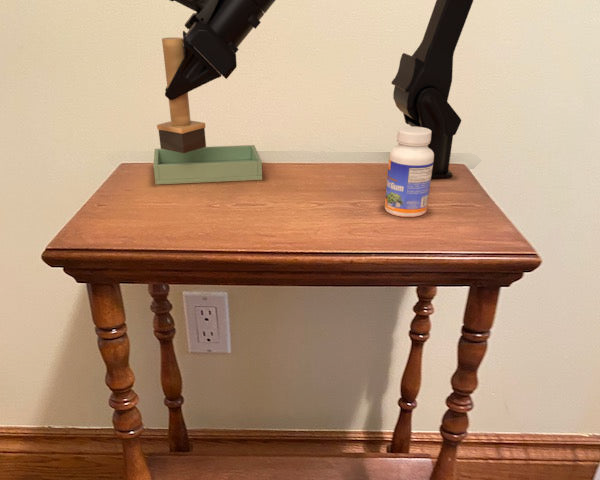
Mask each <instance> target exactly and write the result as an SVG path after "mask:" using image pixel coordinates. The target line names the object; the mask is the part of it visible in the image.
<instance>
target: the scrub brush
mask: <svg viewBox="0 0 600 480" xmlns="http://www.w3.org/2000/svg"><path fill="white" fill-rule="evenodd" d="M161 43H162V53H163V62H164V71H165V79H166V80H165V81H166V87H167V88H168V86H169V84H170V82H171V81H172V79H173V77H174V75H175V73H176V71H177V69H178V67H179V65H180V63H181V61H182V59H183V58H184V45H183V37H176V36H175V37H173V36H172V37H163V38H161ZM189 102H190V100H189V92H187V93H186V94H184V95H182V96H180V97H178V98H176V99H174V100H169V99H168V105H169V115H170V121H167V122H162V123H158V124H156V129H157V130H158V138H159V145H160V149H165V150H170V151H175V152H180V153H187V152H190V151H194V150H197V149H200V148H204V147H207V141H206V131H205V129H206V122H201V121H196V120H191V111H190V103H189Z"/></svg>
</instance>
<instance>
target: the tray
mask: <svg viewBox="0 0 600 480" xmlns="http://www.w3.org/2000/svg"><path fill="white" fill-rule="evenodd" d="M153 174H154V182H155V185H157V186H158V185H175V184H198V183H200V184H202V183H220V182H245V181H263V161H262V159H261V157H260V155H259V153H258V149H257V148H256V146H255V144H247V145H246V144H245V145H217V146H206V147H204V148H200V149H197V150H194V151H190V152H187V153H180V152H175V151H170V150H165V149H161V148H154V153H153Z"/></svg>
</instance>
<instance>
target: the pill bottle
mask: <svg viewBox="0 0 600 480" xmlns="http://www.w3.org/2000/svg"><path fill="white" fill-rule="evenodd" d="M431 133H432V131H431V130H430V129H427V128H423V127H412V126H402V127H399V128H398V129H397V134H396V135H397V136H396V143H397V145H396V146H394V147H392V148H391V150H390V151H389V156H388V166H387V175H386V187H385V195H384V210H385V211H386V212H387V214H390V215H392V216H397V217H403V218H415V217H420V216H423V215H425V214H426V212H427V211H428V205H429V197H430V188H431V183H432V178H431V176H432V168H433V161H434V153H433V151H432V150H431V149H430V148H428V144H430V141H431Z"/></svg>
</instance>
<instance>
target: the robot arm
mask: <svg viewBox="0 0 600 480" xmlns="http://www.w3.org/2000/svg"><path fill="white" fill-rule="evenodd" d="M169 1H170V2H176V3H178V4H180V5H182V6H183V7H186V8H187V9H190V10H192V11H194V12H193V13H192V14H191V16H190V17H189V18H188V19H187V20H186V22H185V23H184V27H185V29H187V30H188V31H187V32H186V31H185V30H183V31H182V38H183V45H184V58H183V59H182V61H181V63H180V65H179V67H178V69H177V71H176V73H175V75H174V77H173V79H172V81H171V82H170V84H169V86H168V88H167V86H166V87H165V90H164V91H165V92H164V96H165V97H166V98H167V99H168V101H169V100H174V99H176V98H178V97H180V96H182V95H184V94H186V93H187V92H188V93H189V92H192V91H194V90H196V89H198V88H200V87H202V86H204V85H206V84H208V83H210V82H213V81H214V80H216V79H220V78H222V77H223V78H225V80H227V79H228V78H229V77H230V76H231V75H232V73H233V72H234V71H235V69H236V68H237V67H238V65H237V54H236V53H238V51H239V50H240V49H239V46H241V44H242V43H243V41H244V40H245V39H246V37H247V36H248V35H249V34H250V32H252V30H253V29H254V30H256V29H257V28H258V27H259V25H260V24H261V23H262V22H261V21H260V20H261V19H262V18H263V17H264V15H265V14H266V13H267V12H268V11H269V9H270V8H271V6H273V4H274V3H275V2H276V0H169ZM473 3H474V0H436V1H435V3H434V6H433V8H432V11H431V15H430V18H429V21H428V23H427V26H426V29H425V32H424V35H423V38H422V40H421V42H420V44H419V46H418V47H417V49H415V51H414V52H413V54H412V55H411V54H407V53H405V52H403V53H402V54H401V56H400V58H399V59H400V60H399V65H398V70H397V72H396V74H395V77H394V78H393V79H392V81H391V82H390V83H391V85H393V86H394V88H393V93H392V96H393V97H392V99H393V101H394V103H395V106H396V107H397V109H398V110H399V111H400V112H401V113H402V114H403V118H404V122H405V124H406V125H409V127H423V128H427V129H430V130H431V131H432V133H431V141H430V144H428V148H430V149H431V150H432V151H433V153H434V161H433V168H432V176H431V179H442V178H443V179H446V178H452V177H453V173H452V172H451V171H450V170H449V168H450V161H451V154H452V146H453V139H454V136H455V135H456V134H457V132H458V130H459V127H460V126H461V123H462V118H461V116H459V114H458V113H457V112H456V111H455V109H454V108H453V107H452V106H451V104H450V103H449V102H448V101H449V95H450V92H451V87H452V83H453V72H454V71H453V70H454V69H453V68H454V55H455V51H456V47H457V46H458V42H459V40H460V37H461V35H462V33H463V29H464V27H465V24H466V22H467V20H468V16H469V13H470V11H471V8H472V5H473Z"/></svg>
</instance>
